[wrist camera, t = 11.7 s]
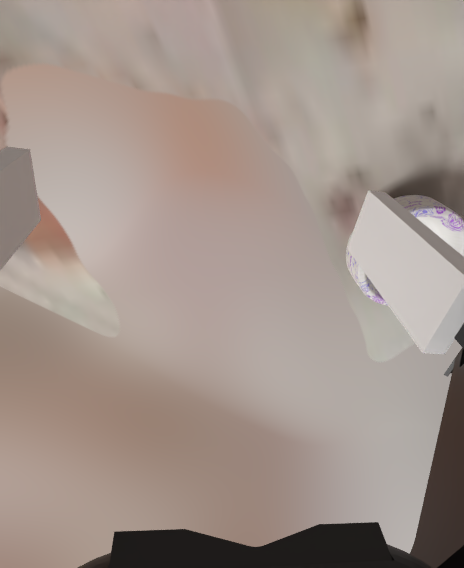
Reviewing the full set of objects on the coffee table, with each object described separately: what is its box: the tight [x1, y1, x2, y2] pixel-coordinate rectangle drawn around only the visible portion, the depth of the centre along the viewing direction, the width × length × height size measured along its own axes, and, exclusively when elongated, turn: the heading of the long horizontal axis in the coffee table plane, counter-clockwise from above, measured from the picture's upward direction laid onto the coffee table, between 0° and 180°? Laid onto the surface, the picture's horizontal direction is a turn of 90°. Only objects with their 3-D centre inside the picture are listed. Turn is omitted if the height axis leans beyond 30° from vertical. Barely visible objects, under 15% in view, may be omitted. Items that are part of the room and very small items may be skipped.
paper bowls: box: [346, 195, 464, 305], centre depth 51 cm, size 15×15×8 cm
